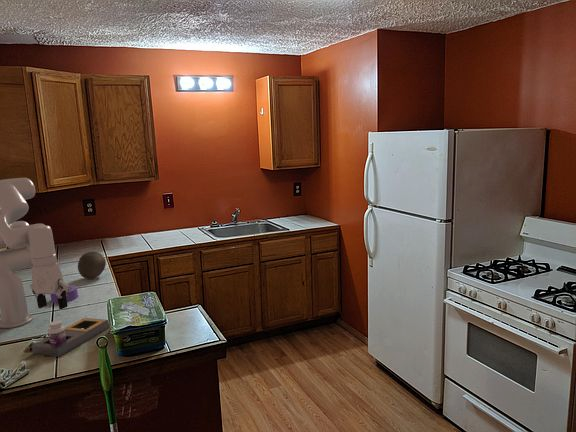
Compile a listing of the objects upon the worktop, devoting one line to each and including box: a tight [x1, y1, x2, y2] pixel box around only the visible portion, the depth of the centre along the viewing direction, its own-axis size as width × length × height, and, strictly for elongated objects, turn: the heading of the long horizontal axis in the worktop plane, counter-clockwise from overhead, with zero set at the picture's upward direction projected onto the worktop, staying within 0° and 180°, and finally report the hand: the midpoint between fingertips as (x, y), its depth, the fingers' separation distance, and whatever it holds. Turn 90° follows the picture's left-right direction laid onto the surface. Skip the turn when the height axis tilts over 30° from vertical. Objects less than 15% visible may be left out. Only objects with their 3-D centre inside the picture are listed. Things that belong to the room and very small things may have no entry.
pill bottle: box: [47, 320, 66, 345], centre depth 160 cm, size 5×5×10 cm
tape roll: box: [49, 285, 79, 304], centre depth 215 cm, size 12×12×5 cm
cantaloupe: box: [77, 251, 107, 280], centre depth 247 cm, size 14×14×15 cm
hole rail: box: [31, 317, 110, 358], centre depth 167 cm, size 12×25×3 cm, turn 161°
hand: (53, 307), depth 158 cm, fingers open, 9 cm apart
